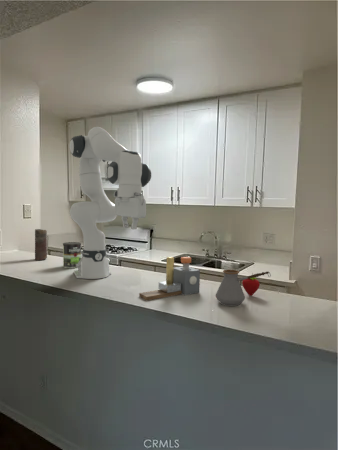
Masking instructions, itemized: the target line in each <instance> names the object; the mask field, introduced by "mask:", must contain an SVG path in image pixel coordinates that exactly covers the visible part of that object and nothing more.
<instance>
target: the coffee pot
mask: <svg viewBox="0 0 338 450" xmlns="http://www.w3.org/2000/svg"><path fill="white" fill-rule="evenodd" d="M222 273H223V275H224V276H223V277H222V280H221V282H220V284H219V286H218V289H217V291H216V292H215V298H216V300H217V301H218V302H219V303H220V304H221V305H223V306H229V307H236V306H239V305H240V304H242V303H243V302H244V301H245V300H246V299H245V298H246V296H245V293H244V290H243V287H242V286H241V283H240V282H241V281H243V280H245V279H249V278H254V277H255V278H260V277H261V276H265V275H267V276H268V277H269V278H271V277H272V275H271V273H270V272H269V271H265V272H264V271H262V272H260V273H258V272H257V273H253V275H252V274H251V275H247V276H244V277H238V275H239V274H240V271H239V270H237V269H224V270H222Z"/></svg>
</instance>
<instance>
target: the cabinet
mask: <svg viewBox="0 0 338 450" xmlns="http://www.w3.org/2000/svg"><path fill="white" fill-rule="evenodd" d="M174 281H176V282H178V283H181V291H182V294H181V295H184V296H187V295H192V294H193V295H194V294H199V293H200V288H201V287H200V285H201V284H200V283H201V270H200V269H198V268H194V267H191V266H189V270H183V265H182V266H176V267H175V266H174Z"/></svg>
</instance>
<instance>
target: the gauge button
mask: <svg viewBox="0 0 338 450" xmlns="http://www.w3.org/2000/svg"><path fill="white" fill-rule="evenodd" d="M180 263H182V266H183V270H189V267H190V263H191V264H192V257H190V256H181V257H180Z"/></svg>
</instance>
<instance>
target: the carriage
mask: <svg viewBox="0 0 338 450" xmlns="http://www.w3.org/2000/svg"><path fill="white" fill-rule="evenodd" d="M165 267H166V269H165V272H166V273H165V275H166V276H165V281H164V280H163V281H159V282H158V290H162V291H164V292H166V293H170V292H176V291H181V283H178V282H176V281H174V267H175V257H173V256H166V266H165Z"/></svg>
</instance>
